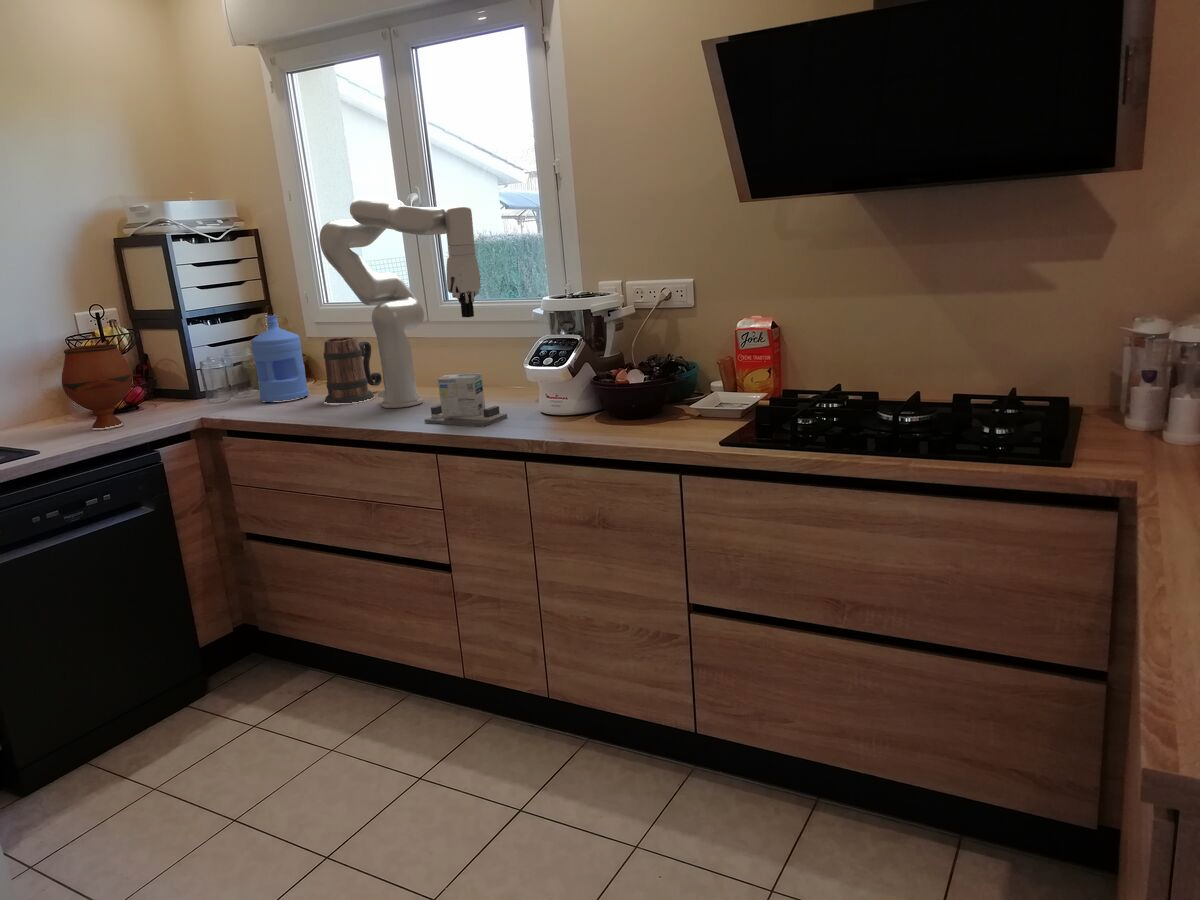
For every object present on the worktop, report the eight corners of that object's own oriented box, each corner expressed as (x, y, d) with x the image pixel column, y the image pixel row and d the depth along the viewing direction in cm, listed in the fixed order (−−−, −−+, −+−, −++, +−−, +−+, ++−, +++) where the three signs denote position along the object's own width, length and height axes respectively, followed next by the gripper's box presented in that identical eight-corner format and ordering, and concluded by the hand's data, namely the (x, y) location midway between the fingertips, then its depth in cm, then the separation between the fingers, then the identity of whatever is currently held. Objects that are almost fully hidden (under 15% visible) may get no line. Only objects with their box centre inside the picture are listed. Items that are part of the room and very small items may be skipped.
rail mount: (424, 423, 239) (423, 409, 238) (449, 414, 248) (448, 401, 247) (483, 426, 230) (482, 412, 229) (507, 417, 239) (505, 403, 238)
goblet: (104, 435, 254) (85, 351, 248) (57, 434, 261) (38, 352, 255) (156, 420, 272) (140, 341, 265) (111, 420, 278) (94, 342, 272)
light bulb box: (486, 410, 241) (482, 372, 238) (479, 416, 234) (474, 376, 232) (449, 412, 243) (445, 373, 240) (441, 417, 236) (436, 378, 233)
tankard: (350, 406, 272) (340, 342, 267) (311, 404, 280) (301, 342, 275) (400, 391, 292) (392, 332, 287) (362, 390, 300) (354, 332, 295)
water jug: (275, 395, 303) (261, 314, 295) (317, 393, 300) (304, 312, 293) (251, 404, 288) (236, 320, 281) (295, 402, 285) (282, 317, 278)
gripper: (467, 250, 253) (473, 313, 258) (434, 253, 240) (440, 320, 245) (488, 249, 249) (494, 313, 254) (455, 252, 237) (461, 320, 241)
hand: (468, 316), depth 249 cm, fingers closed
